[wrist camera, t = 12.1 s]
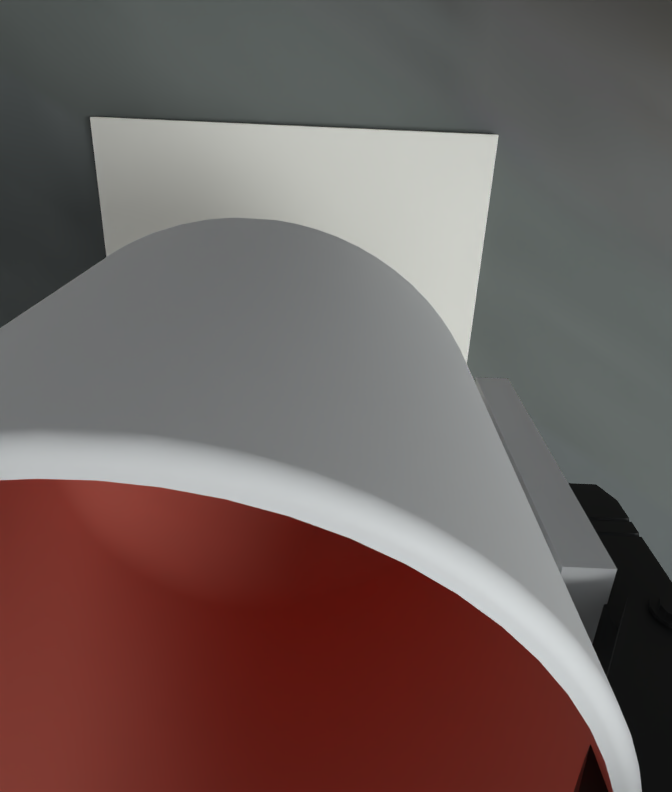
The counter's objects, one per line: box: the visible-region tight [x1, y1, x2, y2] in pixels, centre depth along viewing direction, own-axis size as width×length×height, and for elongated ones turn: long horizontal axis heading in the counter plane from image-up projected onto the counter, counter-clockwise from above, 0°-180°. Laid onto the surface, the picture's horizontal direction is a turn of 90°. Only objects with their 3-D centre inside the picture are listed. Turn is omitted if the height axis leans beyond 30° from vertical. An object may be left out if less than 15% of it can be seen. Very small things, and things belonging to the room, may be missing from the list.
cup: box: [0, 218, 642, 792], centre depth 11 cm, size 10×10×10 cm
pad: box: [90, 117, 499, 364], centre depth 21 cm, size 12×12×1 cm
